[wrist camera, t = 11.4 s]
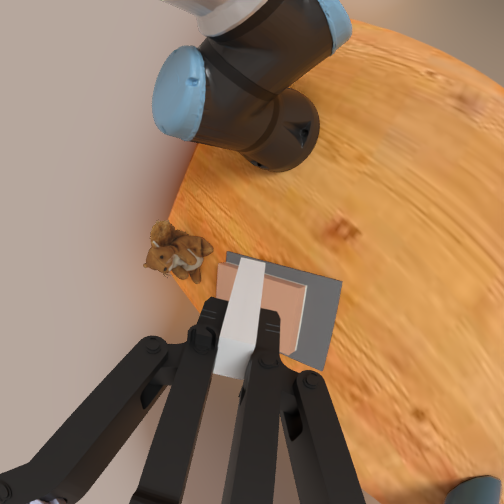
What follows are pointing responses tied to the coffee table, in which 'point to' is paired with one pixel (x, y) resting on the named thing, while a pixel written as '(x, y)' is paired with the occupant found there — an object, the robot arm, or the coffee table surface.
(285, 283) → the tile
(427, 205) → the coffee table surface
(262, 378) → the robot arm
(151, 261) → the stuffed squirrel
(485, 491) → the wine bottle
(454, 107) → the coffee table surface
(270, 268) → the mat
